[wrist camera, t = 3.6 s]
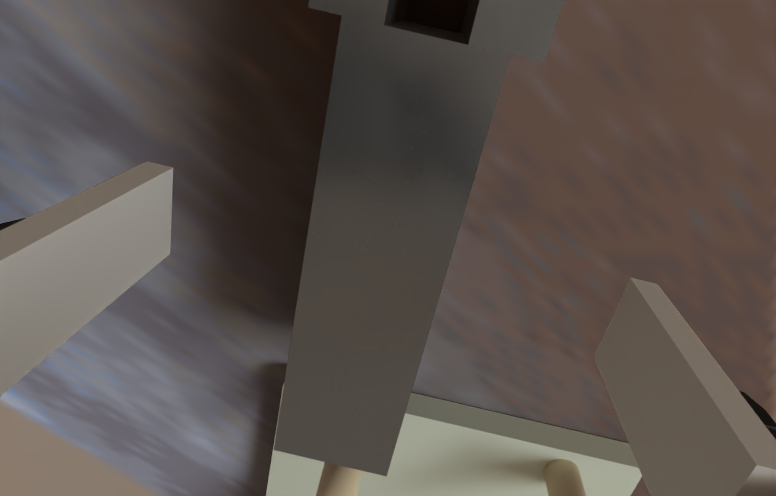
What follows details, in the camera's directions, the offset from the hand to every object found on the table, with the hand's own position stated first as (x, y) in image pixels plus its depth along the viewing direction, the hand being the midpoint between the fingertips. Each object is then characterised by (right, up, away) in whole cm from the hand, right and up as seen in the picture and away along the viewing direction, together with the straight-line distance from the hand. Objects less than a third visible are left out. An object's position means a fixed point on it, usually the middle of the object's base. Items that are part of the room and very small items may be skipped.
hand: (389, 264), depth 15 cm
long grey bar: (0, +3, +6) cm, 7 cm away
